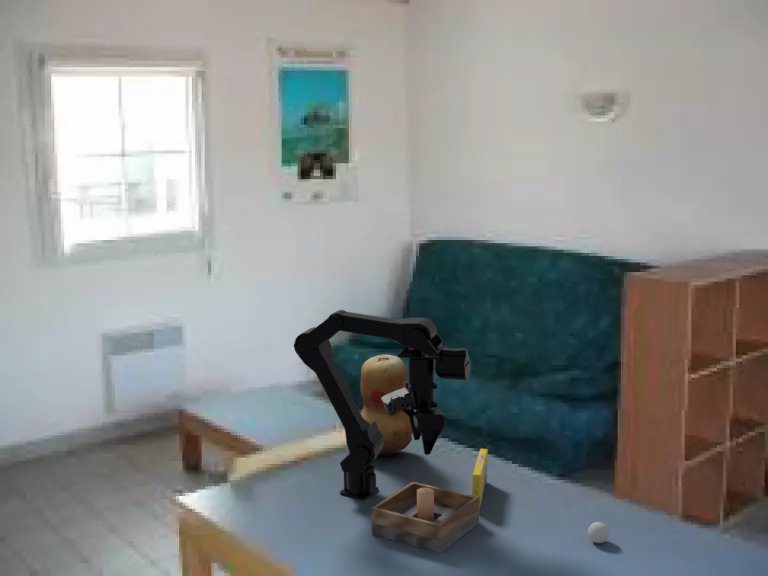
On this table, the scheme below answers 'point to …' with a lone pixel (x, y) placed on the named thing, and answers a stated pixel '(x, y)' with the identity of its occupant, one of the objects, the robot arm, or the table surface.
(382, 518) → the bore box
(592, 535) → the sports ball
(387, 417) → the butternut squash
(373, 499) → the table surface
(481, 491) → the candy box
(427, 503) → the peg
